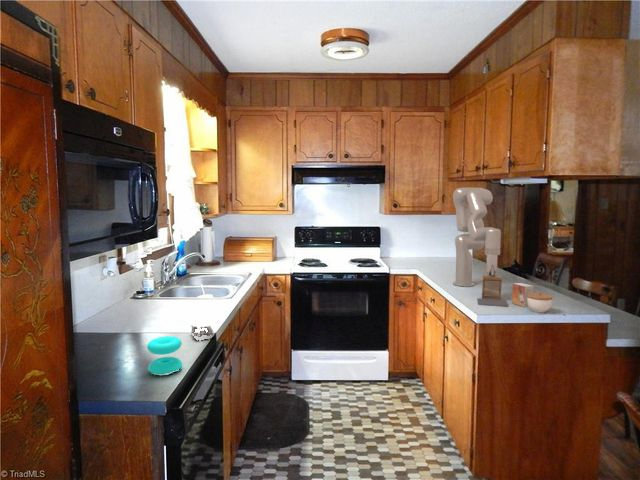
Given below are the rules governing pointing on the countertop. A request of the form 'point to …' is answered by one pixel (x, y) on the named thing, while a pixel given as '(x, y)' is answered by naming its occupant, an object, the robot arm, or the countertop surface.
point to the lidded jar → (539, 302)
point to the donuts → (163, 347)
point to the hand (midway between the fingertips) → (491, 285)
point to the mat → (492, 302)
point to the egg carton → (203, 331)
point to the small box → (521, 294)
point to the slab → (491, 287)
